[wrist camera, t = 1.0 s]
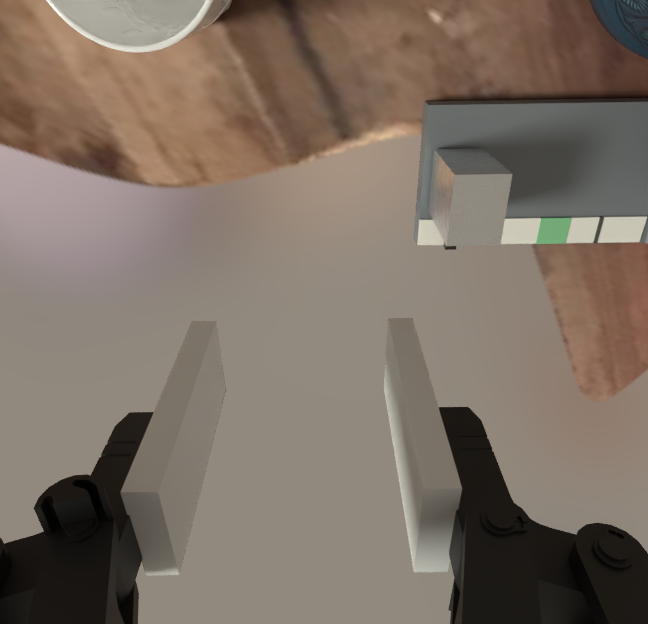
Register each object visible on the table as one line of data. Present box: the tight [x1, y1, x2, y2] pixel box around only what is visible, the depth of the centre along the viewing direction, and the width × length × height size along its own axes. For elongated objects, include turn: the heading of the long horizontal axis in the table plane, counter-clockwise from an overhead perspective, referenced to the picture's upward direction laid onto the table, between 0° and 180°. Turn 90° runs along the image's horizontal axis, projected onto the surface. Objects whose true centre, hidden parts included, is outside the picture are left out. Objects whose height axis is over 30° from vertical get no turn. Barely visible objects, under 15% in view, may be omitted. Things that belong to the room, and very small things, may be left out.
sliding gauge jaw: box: [429, 148, 512, 249], centre depth 31 cm, size 3×6×6 cm, turn 1°
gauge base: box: [414, 98, 648, 245], centre depth 31 cm, size 18×9×8 cm, turn 91°
